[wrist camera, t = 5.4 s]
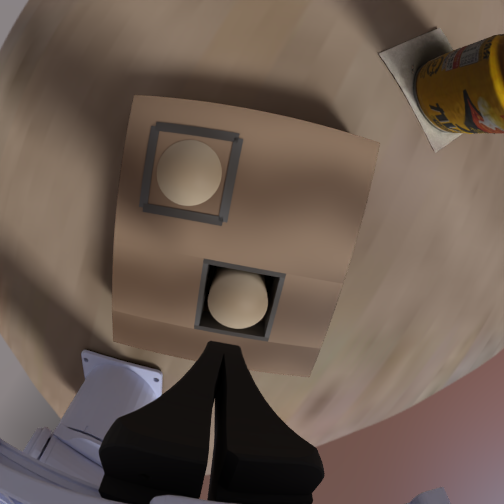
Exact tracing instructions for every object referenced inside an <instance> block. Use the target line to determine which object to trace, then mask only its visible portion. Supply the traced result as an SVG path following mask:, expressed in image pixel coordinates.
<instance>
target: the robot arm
mask: <svg viewBox="0 0 504 504" xmlns="http://www.w3.org/2000/svg"><path fill="white" fill-rule="evenodd" d="M81 356H82V363H83V370H84V376H85V381H84V383H83V384H82V386H81V387H80V389H79V391H78V392H77V394H76V396H75V397H74V399H73V401H72V402H71V404H70V406H69V407H68V409H67V411H66V412H65V414H64V416H63V417H62V419H61V421H60V423H59V424H58V426H57V427H56V428H55V430H54V431H53V432H52V434H51V430H50V429H49V428H48V427H44V428H37V429H36V431H35V432H34V434H33V435H32V437H31V439H30V440H29V442H28V444H27V445H26V447H25V449H24V450H23V452H22V451H20V450H18V449H17V448H15V447H13V446H12V445H10V444H8V443H6V442H5V441H3V440H2V439H0V504H312V502H313V498H312V492H313V491H314V490H315V489H316V488H317V486H318V485H319V484H320V483H321V481H322V479H323V478H324V468H323V464H322V461H321V458H320V456H319V453H318V450H317V448H315V447H314V446H313V445H311V444H310V443H308V442H307V441H305V440H304V439H303V438H301V437H300V436H299V435H297V434H296V433H295V432H294V431H293V430H292V429H290V428H289V427H288V426H287V425H286V424H285V423H284V422H283V421H282V420H281V419H280V418H279V417H278V416H277V414H276V413H275V412H274V411H273V410H272V408H271V407H270V406H269V404H268V403H267V402H266V400H265V399H264V397H263V396H262V394H261V393H260V391H259V389H258V388H257V386H256V384H255V382H254V380H253V378H252V376H251V374H250V372H249V370H248V368H247V365H246V363H245V360H244V357H243V354H242V351H241V348H240V346H238V345H232V344H227V343H221V342H216V341H209V342H208V343H207V345H206V348H205V349H204V351H203V353H202V354H201V356H200V357H199V359H198V360H197V361H196V362H195V364H194V365H193V366H192V368H191V369H190V370H189V371H188V372H187V373H186V374H185V375H184V376H183V377H182V378H181V379H180V380H179V381H178V382H177V383H176V384H175V385H174V386H173V387H171V388H170V389H169V390H168V391H166V392H165V393H164V394H162V377H163V375H162V372H161V371H160V370H157V369H153V368H149V367H145V366H141V365H137V364H133V363H129V362H126V361H122V360H118V359H115V358H112V357H108V356H105V355H101V354H98V353H95V352H92V351H89V350H83V351H82V353H81ZM86 358H87V359H88V360H87V359H86ZM155 378H157V379H155ZM214 399H215V438H214V450H213V459H212V467H211V475H210V484H209V492H208V500H201V499H199V497H200V494H201V489H202V485H203V480H204V476H205V472H206V467H207V462H208V453H209V440H210V426H211V415H212V407H213V403H214ZM406 504H450V501H449V499H448V496H447V494H446V492H445V490H444V488H443V487H440V488H436V489H433V490H429V491H426V492H423V493H421V494H419V495H417V496H416V497H415V498H413V499H412V501H411V502H410V503H406Z"/></svg>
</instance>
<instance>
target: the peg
mask: <svg viewBox="0 0 504 504" xmlns="http://www.w3.org/2000/svg"><path fill="white" fill-rule="evenodd" d="M208 307H209V310H210V313H211V314H212V316H213V317H214V318H215V319H216V320H217V321H218V322H219V323H221V324H222V325H224V326H227V327H230V328H235V329H242V328H247V327H250V326H253V325H255V324H256V323H258V322H259V321H260V320H261V319H262V318H263V316H264V315H265V313H266V311H267V307H268V298H267V290H266V282H265V275H263V274H258V273H252V272H247V271H242V270H236V269H231V268H226V267H220V266H217V268H216V271H215V274H214V278H213V281H212V285H211V288H210V292H209V296H208Z"/></svg>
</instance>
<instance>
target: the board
mask: <svg viewBox="0 0 504 504" xmlns="http://www.w3.org/2000/svg"><path fill="white" fill-rule="evenodd" d="M379 146H380V143H379V142H376V141H373V140H370V139H367V138H364V137H360V136H357V135H354V134H351V133H347V132H344V131H341V130H337V129H334V128H330V127H327V126H323V125H319V124H315V123H312V122H308V121H304V120H299V119H295V118H291V117H287V116H282V115H278V114H273V113H268V112H263V111H258V110H253V109H248V108H242V107H237V106H231V105H225V104H218V103H211V102H204V101H196V100H188V99H179V98H169V97H158V96H145V95H134V98H133V102H132V107H131V112H130V117H129V122H128V127H127V133H126V139H125V145H124V151H123V157H122V164H121V172H120V179H119V188H118V197H117V207H116V218H115V231H114V247H113V273H112V321H113V341H114V342H117V343H121V344H125V345H128V346H132V347H136V348H140V349H144V350H148V351H152V352H156V353H161V354H165V355H170V356H174V357H179V358H184V359H188V360H193V361H197V360H198V359H199V357H200V356H201V354H202V353H203V351H204V349H205V348H206V345H207V343H208V342H209V341H216V342H221V343H227V344H232V345H238V346H240V348H241V351H242V354H243V357H244V360H245V363H246V365H247V368H248V370H252V371H259V372H266V373H274V374H283V375H292V376H301V377H310V375H311V372H312V370H313V367H314V365H315V362H316V360H317V357H318V354H319V352H320V349H321V347H322V344H323V341H324V339H325V336H326V333H327V330H328V328H329V325H330V322H331V319H332V316H333V313H334V311H335V308H336V305H337V302H338V299H339V296H340V293H341V290H342V287H343V284H344V280H345V277H346V274H347V271H348V268H349V264H350V261H351V258H352V254H353V251H354V248H355V244H356V241H357V237H358V233H359V230H360V226H361V223H362V219H363V215H364V211H365V207H366V203H367V199H368V195H369V191H370V187H371V183H372V179H373V174H374V170H375V165H376V161H377V156H378V151H379ZM210 265H215V266H220V267H226V268H231V269H236V270H242V271H247V272H252V273H258V274H263V275H269V276H274V279H273V283H272V287H271V291H270V295H269V299H268V307H267V311H266V313H265V315H264V316H263V318H262V319H261V320H260V321H259V322H258V323H256V324H255V325H253V326H250V327H247V328H242V329H235V328H230V327H227V326H224V325H222V324H221V323H219V322H218V321H217V320H216V319H215V318H214V317H213V316H212V314H211V313H210V310H209V307H208V302H207V301H205V295H206V288H207V282H208V276H209V270H210Z"/></svg>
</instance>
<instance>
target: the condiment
mask: <svg viewBox="0 0 504 504" xmlns="http://www.w3.org/2000/svg"><path fill="white" fill-rule="evenodd" d="M379 55H380V56H381V58H382V59H383V61H384V62H385V63H386V65H387V66H388V68H389V70H390V71H391V73H392V74H393V75H394V77H395V79H396V80H397V82H398V84H399V86H400V87H401V88H402V90H403V92H404V94H405V96H406V98H407V99H408V101H409V103H410V105H411V107H412V109H413V111H414V113H415V114H416V116H417V118H418V120H419V122H420V124H421V126H422V128H423V130H424V132H425V134H426V135H427V137H428V140H429V142H430V144H431V146H432V148H433V149H434V151H435V153H436V152H437V151H439V150H440V149H442V148H443V147H445V146H446V145H447V144H449V143H450V142H451V141H453V140H454V139H456V138H457V137H459V136H460V135H461V134H463V133H468V134H472V133H494V134H495V133H504V34H500V35H494V36H492V37H489V38H486V39H484V40H481V41H478V42H476V43H473V44H470V45H468V46H464V47H462V48H459V49H456V50H453V49H452V47H451V45H450V43H449V41H448V40H447V38H446V36H445V35H444V33H443V32H442V30H441V29H440V28H438V29H436V30H433V31H431V32H428V33H426V34H423V35H421V36H418V37H416V38H414V39H411V40H409V41H407V42H404V43H402V44H400V45H397V46H395V47H393V48H391V49H388V50H386V51H384V52H382V53H380V54H379ZM412 65H413V66H414V69H412ZM412 71H414V74H412Z"/></svg>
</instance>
